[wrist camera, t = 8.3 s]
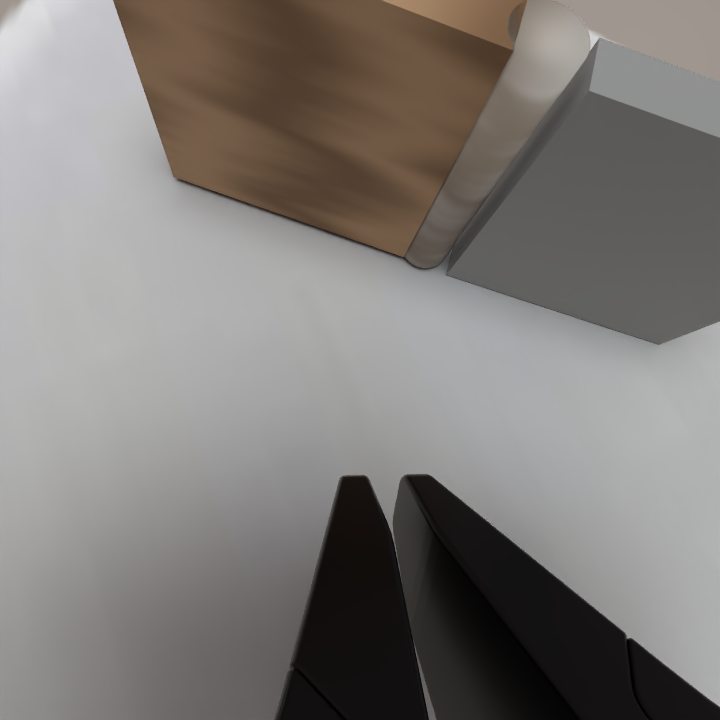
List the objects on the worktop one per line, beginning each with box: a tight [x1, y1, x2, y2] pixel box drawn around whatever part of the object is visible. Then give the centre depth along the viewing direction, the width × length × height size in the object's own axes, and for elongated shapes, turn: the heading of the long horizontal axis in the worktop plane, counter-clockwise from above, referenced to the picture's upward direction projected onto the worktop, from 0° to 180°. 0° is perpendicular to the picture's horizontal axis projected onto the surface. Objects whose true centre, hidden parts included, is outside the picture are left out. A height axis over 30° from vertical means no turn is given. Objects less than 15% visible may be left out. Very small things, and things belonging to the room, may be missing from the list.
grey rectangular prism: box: [447, 38, 720, 344], centre depth 18 cm, size 10×2×11 cm, turn 74°
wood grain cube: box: [113, 0, 590, 268], centre depth 17 cm, size 12×2×11 cm, turn 73°
